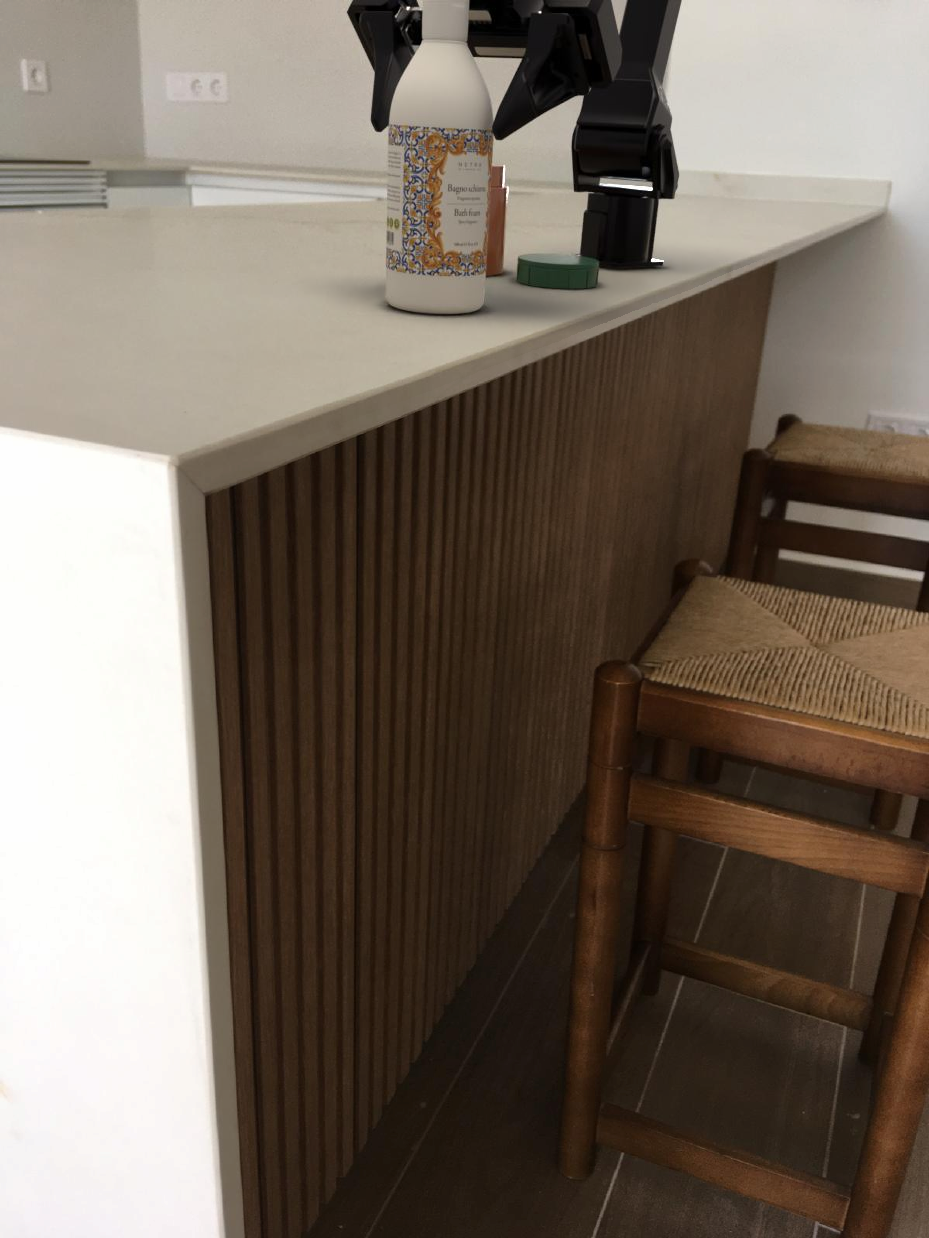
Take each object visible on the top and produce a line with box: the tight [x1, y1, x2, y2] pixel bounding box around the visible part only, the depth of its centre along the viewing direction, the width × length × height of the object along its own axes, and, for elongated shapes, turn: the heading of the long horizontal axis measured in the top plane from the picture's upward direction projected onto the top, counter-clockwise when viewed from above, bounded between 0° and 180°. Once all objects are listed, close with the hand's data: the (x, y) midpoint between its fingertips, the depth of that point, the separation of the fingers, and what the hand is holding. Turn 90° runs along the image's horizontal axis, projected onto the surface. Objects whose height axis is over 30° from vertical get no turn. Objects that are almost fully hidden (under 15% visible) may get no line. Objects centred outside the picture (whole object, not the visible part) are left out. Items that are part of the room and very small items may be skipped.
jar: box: [485, 163, 509, 277], centre depth 92 cm, size 6×6×9 cm
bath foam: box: [385, 0, 495, 315], centre depth 71 cm, size 7×7×20 cm
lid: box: [515, 253, 600, 290], centre depth 89 cm, size 7×7×2 cm
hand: (433, 131), depth 70 cm, fingers open, 9 cm apart
